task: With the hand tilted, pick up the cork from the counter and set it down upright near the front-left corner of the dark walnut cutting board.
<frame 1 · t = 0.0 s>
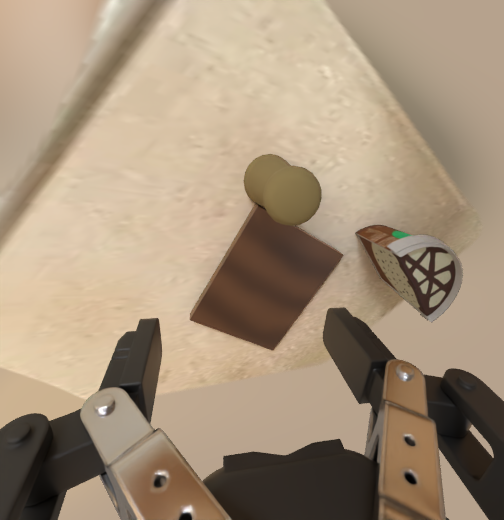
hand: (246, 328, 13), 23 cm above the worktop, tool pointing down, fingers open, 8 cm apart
food container: (385, 243, 40), on the worktop
cutting board: (264, 282, 39), on the worktop
cork: (268, 180, 33), on the worktop
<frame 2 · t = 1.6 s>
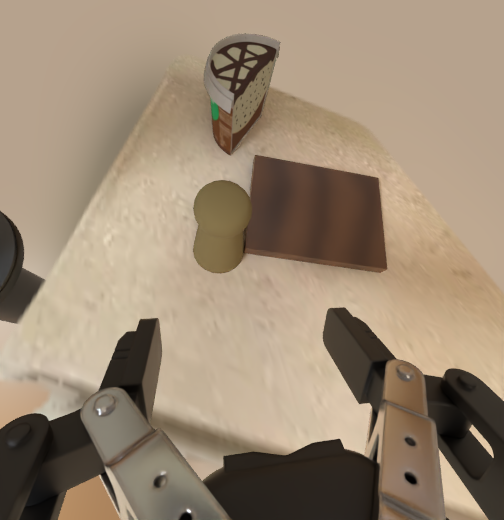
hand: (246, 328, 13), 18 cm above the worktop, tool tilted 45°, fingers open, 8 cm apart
food container: (228, 126, 40), on the worktop
cutting board: (314, 215, 37), on the worktop
cork: (218, 250, 33), on the worktop
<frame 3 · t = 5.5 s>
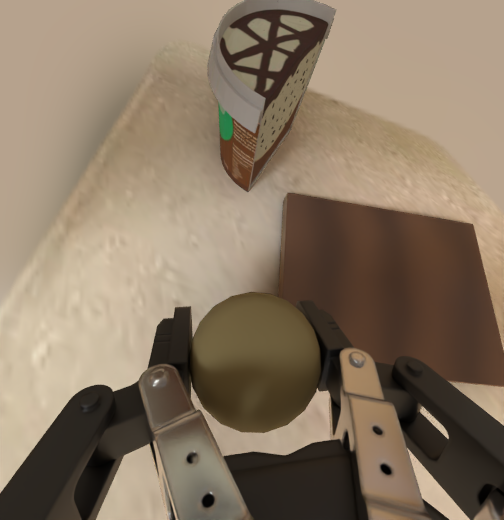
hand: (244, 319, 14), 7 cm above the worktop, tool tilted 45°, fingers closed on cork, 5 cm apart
food container: (243, 144, 27), on the worktop
cutting board: (381, 287, 23), on the worktop
cork: (233, 360, 20), on the worktop, touching gripper
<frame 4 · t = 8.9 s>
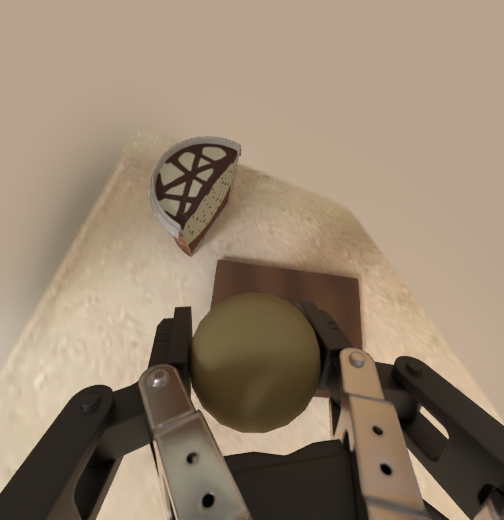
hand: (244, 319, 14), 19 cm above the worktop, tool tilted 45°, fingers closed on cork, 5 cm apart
food container: (190, 217, 36), on the worktop
cutting board: (284, 328, 33), on the worktop
cork: (233, 360, 20), point 12 cm above the worktop, touching gripper
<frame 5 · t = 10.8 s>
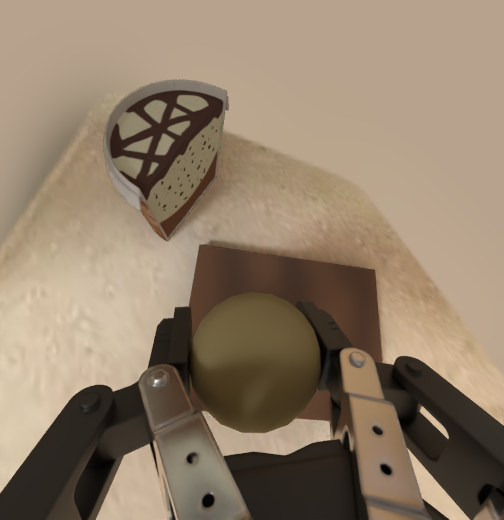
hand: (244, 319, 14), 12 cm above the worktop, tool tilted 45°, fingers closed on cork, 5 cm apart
food container: (169, 194, 29), on the worktop
cutting board: (283, 330, 26), on the worktop
cork: (233, 360, 20), point 5 cm above the worktop, touching gripper
when the fingers open (9 cm above the worktop, at t = 12.3 s): cork stays where it is, resting on cutting board.
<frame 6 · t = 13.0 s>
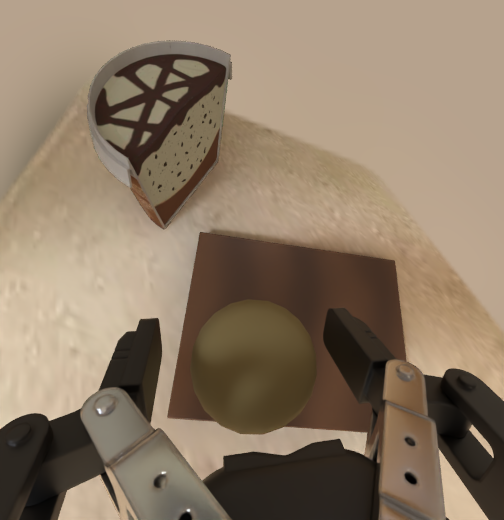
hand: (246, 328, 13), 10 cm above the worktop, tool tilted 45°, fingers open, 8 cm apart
food container: (166, 179, 27), on the worktop
cutting board: (294, 328, 23), on the worktop
cork: (233, 362, 20), point 1 cm above the worktop, touching cutting board
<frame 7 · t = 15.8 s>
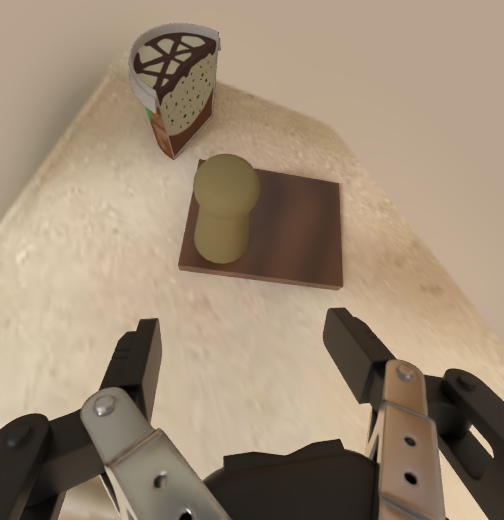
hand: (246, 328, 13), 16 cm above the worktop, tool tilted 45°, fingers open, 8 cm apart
food container: (174, 127, 37), on the worktop
cutting board: (265, 225, 33), on the worktop
cork: (221, 238, 30), point 1 cm above the worktop, touching cutting board
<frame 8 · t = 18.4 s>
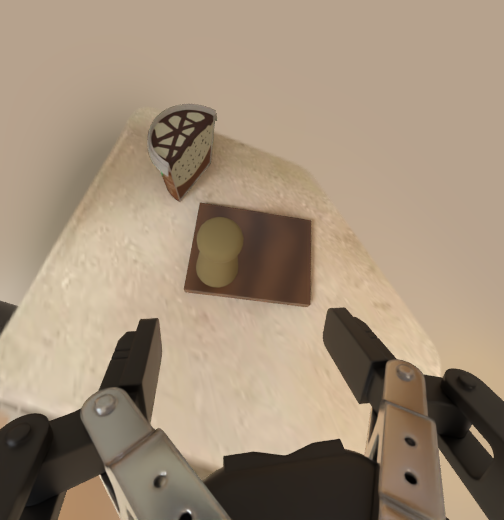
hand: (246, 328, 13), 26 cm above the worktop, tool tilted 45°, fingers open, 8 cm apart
food container: (180, 173, 46), on the worktop
cutting board: (251, 255, 42), on the worktop
cork: (217, 267, 39), point 1 cm above the worktop, touching cutting board
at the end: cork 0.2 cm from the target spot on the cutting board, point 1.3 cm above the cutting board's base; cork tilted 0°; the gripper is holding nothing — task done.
